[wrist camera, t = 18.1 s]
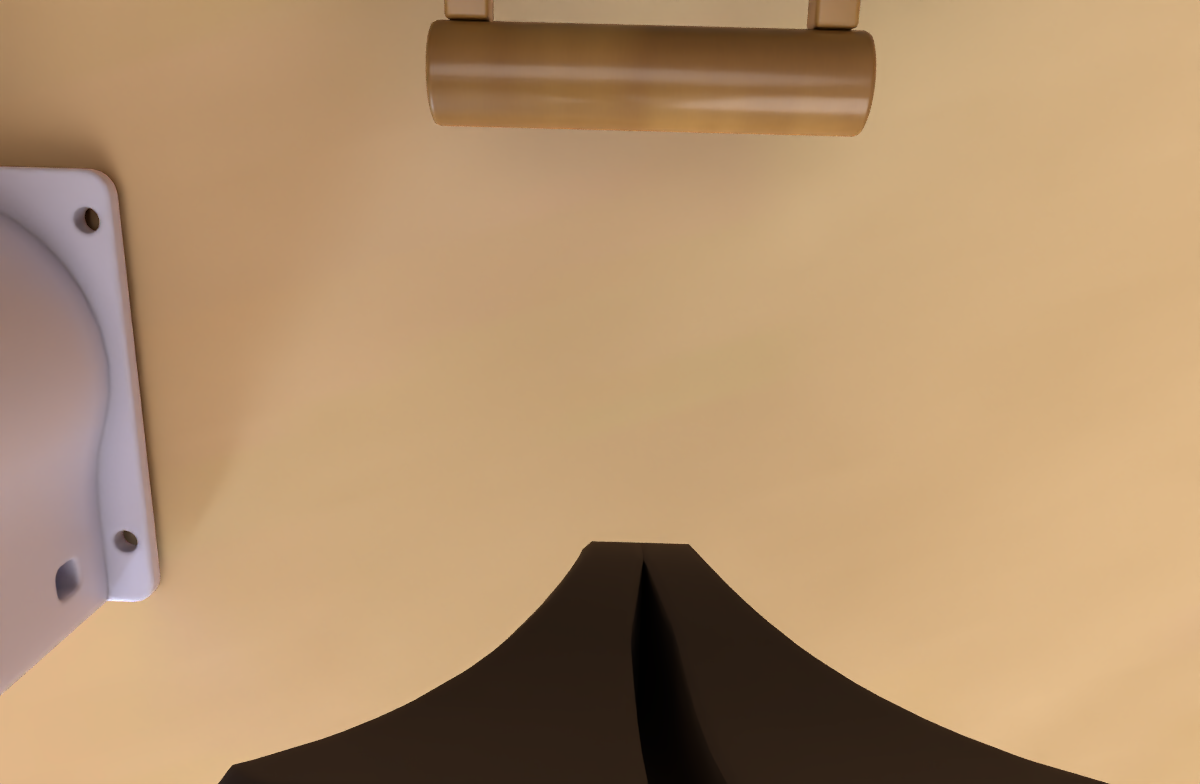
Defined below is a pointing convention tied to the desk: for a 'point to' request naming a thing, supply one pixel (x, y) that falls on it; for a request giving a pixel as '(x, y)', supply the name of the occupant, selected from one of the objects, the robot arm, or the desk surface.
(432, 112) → the drawer
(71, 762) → the desk surface
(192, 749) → the desk surface
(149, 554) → the robot arm
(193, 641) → the desk surface
